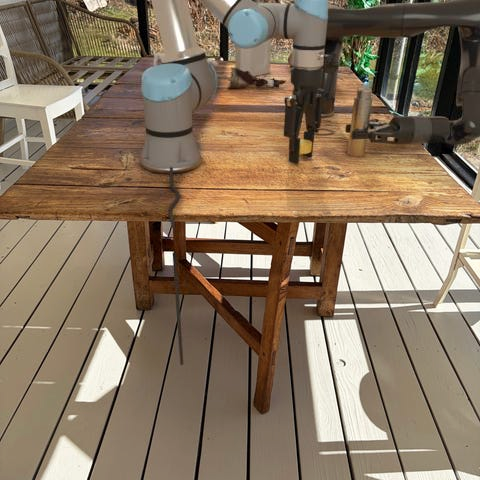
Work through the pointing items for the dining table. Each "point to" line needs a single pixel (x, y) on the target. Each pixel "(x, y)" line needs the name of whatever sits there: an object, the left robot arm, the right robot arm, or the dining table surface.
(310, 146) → the lid
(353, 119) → the tan cylinder
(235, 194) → the dining table surface
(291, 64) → the anatomical model
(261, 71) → the tall white pillar
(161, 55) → the toy
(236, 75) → the figurine
